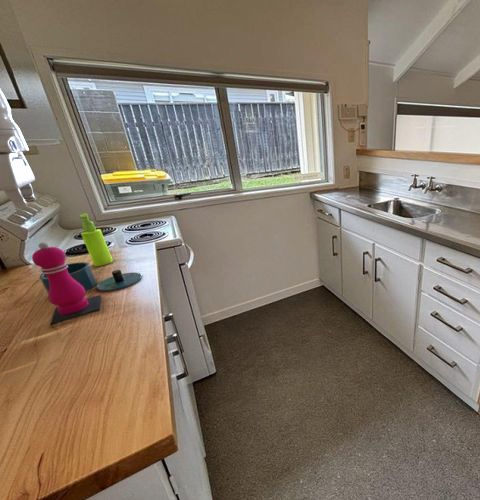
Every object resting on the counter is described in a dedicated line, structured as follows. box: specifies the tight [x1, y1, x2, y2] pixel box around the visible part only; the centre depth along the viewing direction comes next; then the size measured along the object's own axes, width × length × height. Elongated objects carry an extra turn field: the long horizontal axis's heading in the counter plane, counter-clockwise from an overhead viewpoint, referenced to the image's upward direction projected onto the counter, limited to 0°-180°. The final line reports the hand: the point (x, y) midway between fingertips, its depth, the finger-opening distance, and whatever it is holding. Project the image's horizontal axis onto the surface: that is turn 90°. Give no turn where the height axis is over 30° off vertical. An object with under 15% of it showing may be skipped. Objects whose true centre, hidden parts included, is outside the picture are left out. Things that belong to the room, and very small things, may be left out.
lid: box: [96, 269, 143, 292], centre depth 94 cm, size 12×12×5 cm
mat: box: [49, 294, 102, 326], centre depth 80 cm, size 10×10×1 cm
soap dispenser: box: [79, 213, 114, 267], centre depth 108 cm, size 6×7×20 cm
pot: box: [39, 261, 98, 296], centre depth 90 cm, size 11×11×8 cm
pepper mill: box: [31, 241, 89, 315], centre depth 76 cm, size 7×7×20 cm
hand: (27, 204), depth 68 cm, fingers open, 8 cm apart
